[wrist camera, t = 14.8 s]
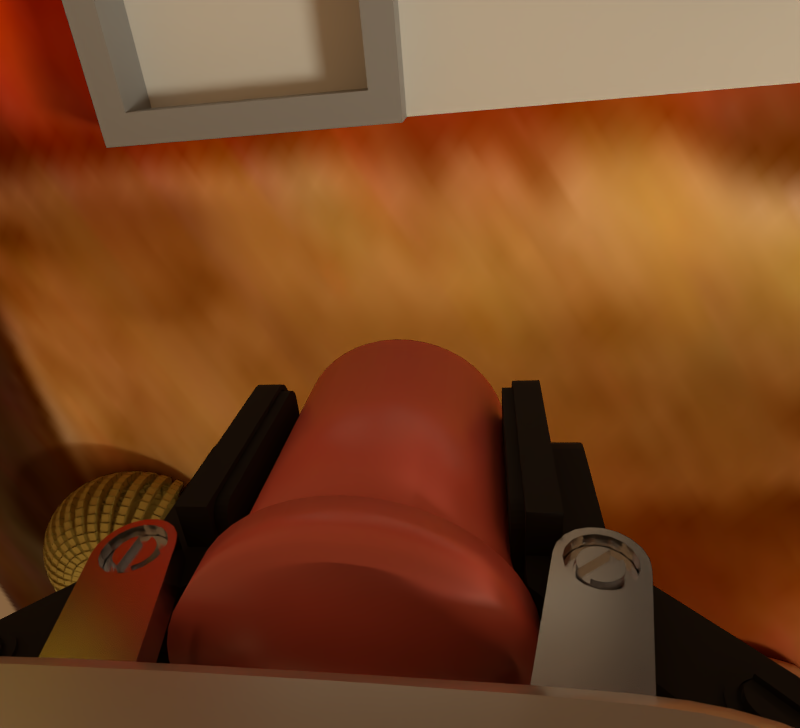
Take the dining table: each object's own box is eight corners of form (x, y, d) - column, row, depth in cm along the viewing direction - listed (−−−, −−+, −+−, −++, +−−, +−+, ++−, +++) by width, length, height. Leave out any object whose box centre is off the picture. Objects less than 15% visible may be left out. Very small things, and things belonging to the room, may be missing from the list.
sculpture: (-9, 513, 22) (197, 520, 21) (54, 450, 26) (232, 453, 25) (56, 652, 26) (232, 661, 25) (103, 580, 29) (259, 586, 29)
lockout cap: (520, 322, 11) (555, 548, 6) (518, 518, 14) (542, 807, 8) (275, 329, 12) (118, 536, 7) (312, 515, 14) (215, 777, 9)
